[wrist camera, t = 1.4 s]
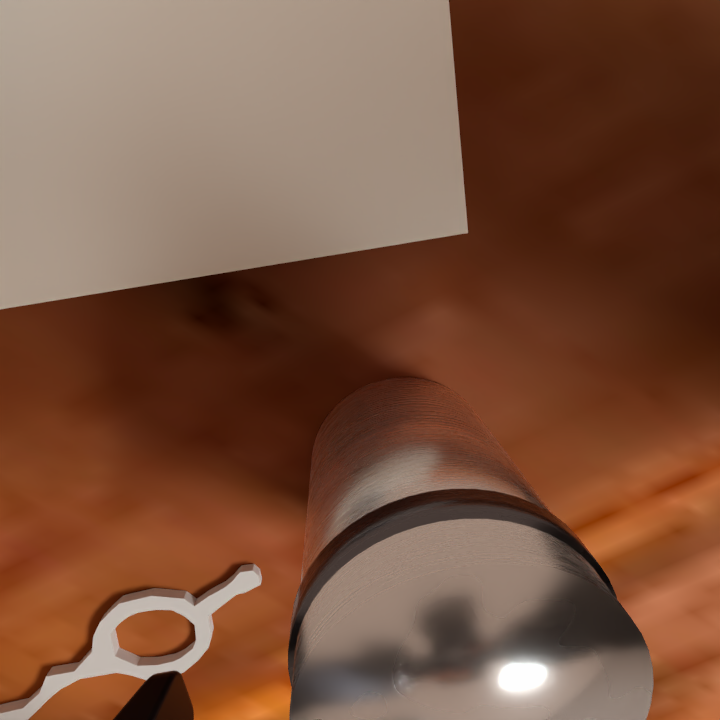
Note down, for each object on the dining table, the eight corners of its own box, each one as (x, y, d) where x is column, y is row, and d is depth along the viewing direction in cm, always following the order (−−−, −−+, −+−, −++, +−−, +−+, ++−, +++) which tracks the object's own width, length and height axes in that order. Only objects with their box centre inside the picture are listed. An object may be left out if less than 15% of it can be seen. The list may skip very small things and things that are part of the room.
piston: (484, 359, 12) (668, 525, 6) (497, 523, 14) (653, 808, 7) (291, 391, 12) (241, 598, 6) (325, 552, 14) (319, 868, 7)
